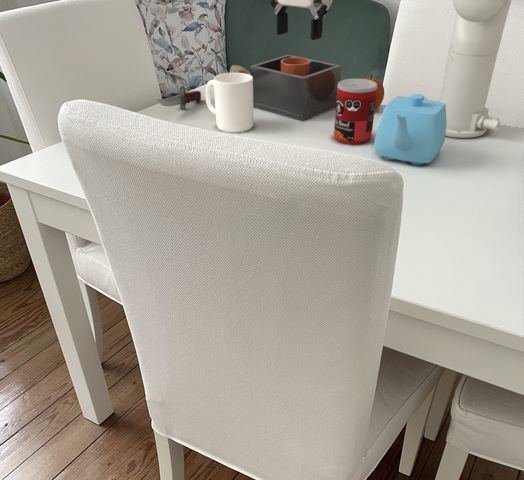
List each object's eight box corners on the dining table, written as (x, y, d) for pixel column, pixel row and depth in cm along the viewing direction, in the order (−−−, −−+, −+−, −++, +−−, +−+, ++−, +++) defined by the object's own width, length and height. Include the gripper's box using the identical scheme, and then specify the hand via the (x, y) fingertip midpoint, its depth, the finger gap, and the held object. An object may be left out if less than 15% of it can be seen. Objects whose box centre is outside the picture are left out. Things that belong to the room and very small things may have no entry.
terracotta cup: (314, 101, 137) (316, 60, 132) (296, 108, 134) (297, 66, 128) (292, 95, 141) (293, 55, 135) (274, 102, 137) (274, 61, 131)
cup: (239, 135, 123) (237, 85, 116) (196, 125, 128) (192, 76, 121) (260, 124, 128) (260, 76, 121) (218, 114, 133) (216, 68, 127)
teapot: (359, 168, 109) (366, 106, 102) (389, 138, 121) (397, 80, 114) (423, 180, 105) (435, 117, 97) (447, 148, 117) (460, 89, 109)
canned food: (327, 135, 123) (330, 80, 115) (359, 130, 125) (364, 76, 118) (344, 147, 117) (349, 91, 110) (378, 141, 120) (385, 86, 112)
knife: (161, 122, 130) (159, 99, 126) (156, 121, 130) (154, 98, 127) (201, 101, 141) (200, 79, 138) (197, 100, 142) (195, 78, 138)
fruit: (353, 104, 138) (356, 69, 133) (382, 105, 138) (386, 70, 132) (352, 113, 133) (355, 77, 128) (382, 115, 132) (386, 78, 127)
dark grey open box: (338, 105, 138) (341, 65, 132) (302, 120, 130) (304, 78, 124) (287, 92, 146) (288, 54, 140) (250, 106, 138) (250, 66, 132)
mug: (271, 98, 143) (253, 64, 135) (237, 116, 146) (218, 83, 138) (268, 82, 147) (250, 48, 140) (235, 99, 150) (216, 67, 143)
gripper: (345, -58, 115) (340, 37, 125) (279, -60, 124) (280, 29, 134) (322, -54, 110) (319, 44, 121) (256, -57, 119) (259, 34, 130)
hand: (298, 36), depth 128 cm, fingers open, 9 cm apart
